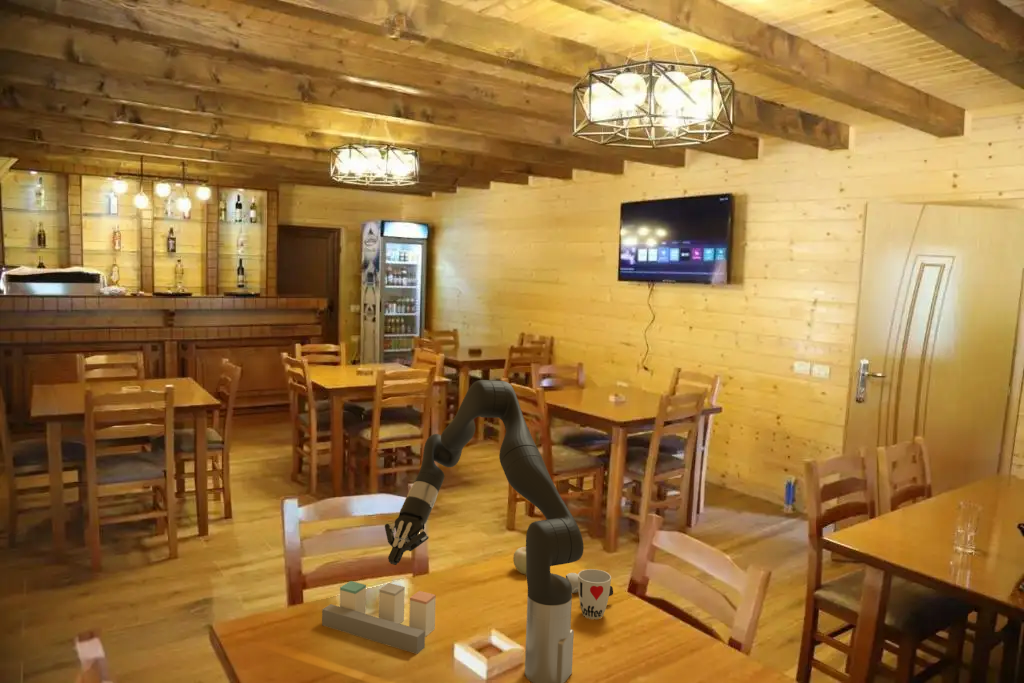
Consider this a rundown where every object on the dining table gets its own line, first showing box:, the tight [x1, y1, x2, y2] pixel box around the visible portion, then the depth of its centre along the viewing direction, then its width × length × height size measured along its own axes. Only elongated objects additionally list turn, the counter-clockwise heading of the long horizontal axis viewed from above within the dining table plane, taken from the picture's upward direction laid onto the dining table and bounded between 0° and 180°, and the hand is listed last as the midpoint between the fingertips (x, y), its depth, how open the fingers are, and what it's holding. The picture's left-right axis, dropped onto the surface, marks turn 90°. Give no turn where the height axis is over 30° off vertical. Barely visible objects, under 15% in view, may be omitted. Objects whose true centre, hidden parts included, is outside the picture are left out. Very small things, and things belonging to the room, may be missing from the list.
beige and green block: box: [339, 580, 367, 614], centre depth 166 cm, size 4×4×8 cm
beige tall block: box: [378, 582, 406, 624], centre depth 166 cm, size 4×4×8 cm
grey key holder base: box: [321, 603, 426, 655], centre depth 165 cm, size 26×16×5 cm, turn 65°
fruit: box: [512, 546, 526, 575], centre depth 199 cm, size 8×7×8 cm
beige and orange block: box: [408, 590, 437, 638], centre depth 162 cm, size 4×4×8 cm
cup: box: [577, 568, 612, 620], centre depth 175 cm, size 8×8×10 cm
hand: (392, 563), depth 178 cm, fingers closed
